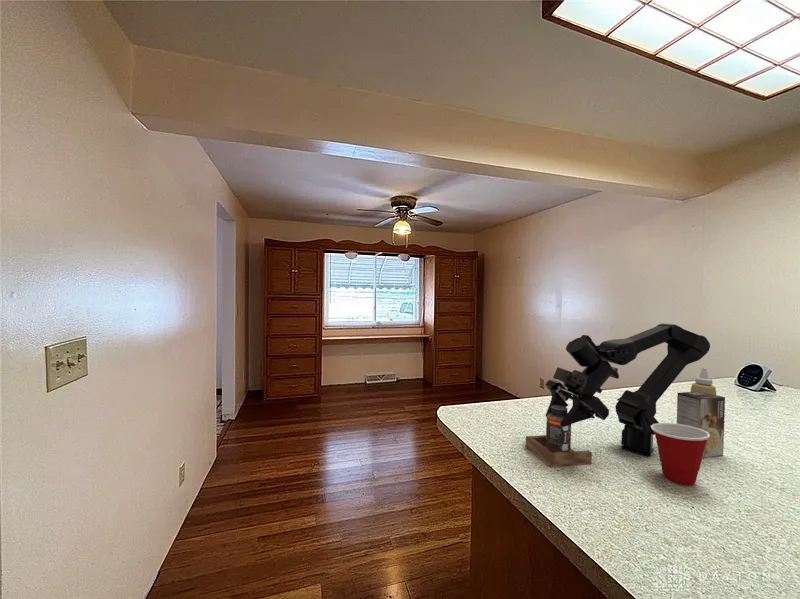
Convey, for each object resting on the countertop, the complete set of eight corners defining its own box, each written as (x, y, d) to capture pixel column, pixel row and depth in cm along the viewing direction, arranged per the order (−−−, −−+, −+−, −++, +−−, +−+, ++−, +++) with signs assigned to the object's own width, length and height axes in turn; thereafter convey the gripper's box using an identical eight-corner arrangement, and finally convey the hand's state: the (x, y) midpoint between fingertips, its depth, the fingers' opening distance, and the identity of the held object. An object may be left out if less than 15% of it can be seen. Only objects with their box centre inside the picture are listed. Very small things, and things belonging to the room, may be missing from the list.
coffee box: (698, 445, 100) (700, 390, 100) (724, 455, 94) (726, 397, 94) (674, 448, 98) (676, 392, 98) (699, 458, 92) (701, 398, 92)
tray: (562, 444, 98) (562, 434, 98) (591, 464, 87) (591, 452, 87) (525, 446, 96) (525, 436, 96) (550, 467, 85) (551, 455, 85)
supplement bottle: (572, 456, 88) (573, 412, 87) (547, 453, 89) (548, 409, 89) (568, 447, 93) (569, 405, 93) (544, 443, 95) (545, 402, 95)
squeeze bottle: (723, 423, 120) (726, 371, 120) (700, 422, 120) (702, 370, 120) (703, 415, 128) (705, 366, 128) (681, 414, 128) (683, 366, 128)
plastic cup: (650, 463, 88) (652, 416, 88) (706, 478, 81) (708, 428, 81) (647, 480, 80) (648, 428, 80) (709, 498, 73) (711, 442, 73)
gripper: (551, 351, 101) (516, 390, 99) (600, 364, 83) (557, 412, 81) (575, 377, 103) (540, 416, 101) (627, 396, 84) (586, 444, 82)
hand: (553, 421), depth 91 cm, fingers closed on supplement bottle, 6 cm apart
